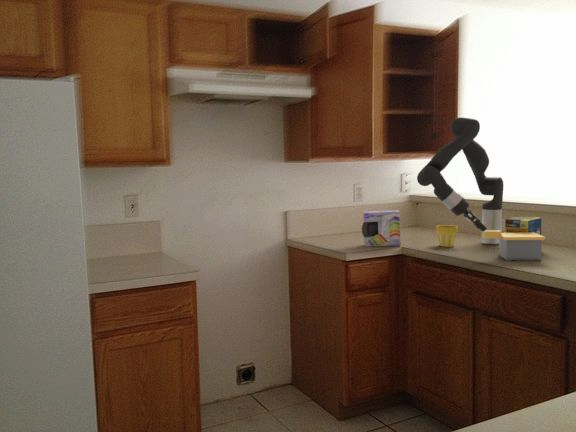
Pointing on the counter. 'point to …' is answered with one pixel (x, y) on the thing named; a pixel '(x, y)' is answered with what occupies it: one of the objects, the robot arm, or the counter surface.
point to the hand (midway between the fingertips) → (482, 228)
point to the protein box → (523, 224)
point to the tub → (520, 249)
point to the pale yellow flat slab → (512, 235)
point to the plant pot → (446, 235)
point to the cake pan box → (381, 228)
